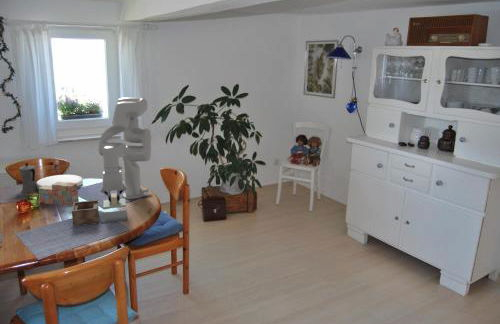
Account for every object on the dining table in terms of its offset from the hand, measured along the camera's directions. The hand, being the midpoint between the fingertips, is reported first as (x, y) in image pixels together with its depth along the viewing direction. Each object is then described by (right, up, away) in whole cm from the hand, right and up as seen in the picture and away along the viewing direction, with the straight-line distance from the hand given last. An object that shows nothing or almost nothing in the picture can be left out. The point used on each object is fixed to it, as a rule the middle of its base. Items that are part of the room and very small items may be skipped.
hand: (114, 202), depth 221 cm
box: (-14, -9, -2) cm, 17 cm away
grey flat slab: (-1, -8, +2) cm, 8 cm away
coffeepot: (-67, +3, +41) cm, 78 cm away
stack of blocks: (-39, -3, +22) cm, 45 cm away
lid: (0, -1, 0) cm, 1 cm away
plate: (-52, +5, +50) cm, 73 cm away
